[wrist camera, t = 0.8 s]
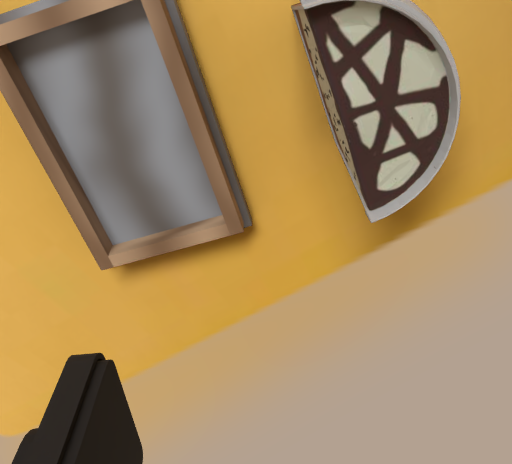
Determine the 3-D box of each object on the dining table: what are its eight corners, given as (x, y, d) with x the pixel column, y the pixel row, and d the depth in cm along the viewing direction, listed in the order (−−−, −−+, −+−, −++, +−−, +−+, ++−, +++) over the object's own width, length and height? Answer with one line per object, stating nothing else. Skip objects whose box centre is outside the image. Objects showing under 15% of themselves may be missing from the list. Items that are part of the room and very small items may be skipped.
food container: (426, 129, 34) (489, 192, 25) (341, 160, 35) (373, 231, 26) (383, -64, 28) (446, -69, 19) (282, -20, 29) (299, -6, 20)
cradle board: (161, -42, 28) (154, -41, 26) (251, 219, 37) (252, 235, 35) (-23, 23, 30) (-44, 29, 28) (106, 258, 39) (98, 277, 36)
